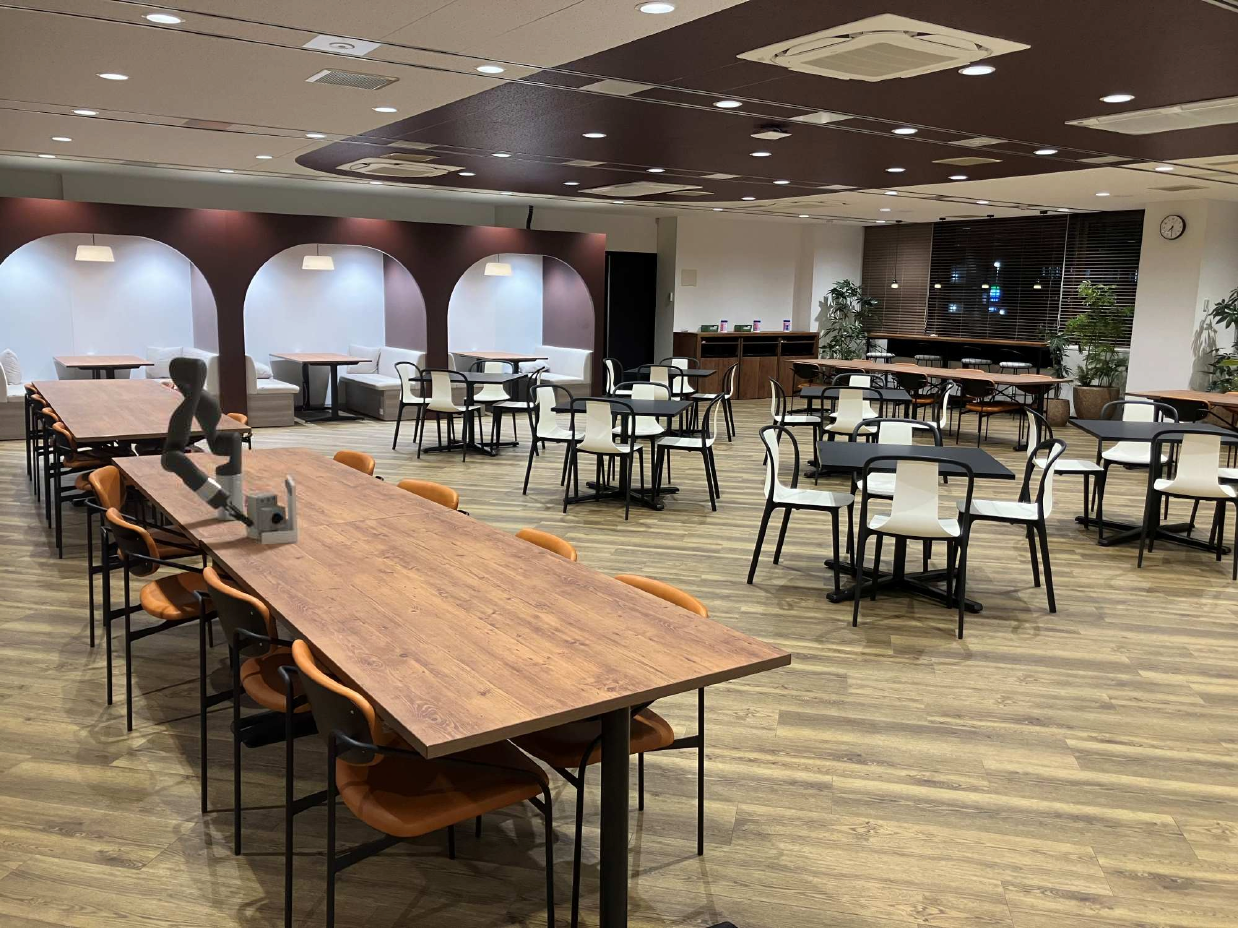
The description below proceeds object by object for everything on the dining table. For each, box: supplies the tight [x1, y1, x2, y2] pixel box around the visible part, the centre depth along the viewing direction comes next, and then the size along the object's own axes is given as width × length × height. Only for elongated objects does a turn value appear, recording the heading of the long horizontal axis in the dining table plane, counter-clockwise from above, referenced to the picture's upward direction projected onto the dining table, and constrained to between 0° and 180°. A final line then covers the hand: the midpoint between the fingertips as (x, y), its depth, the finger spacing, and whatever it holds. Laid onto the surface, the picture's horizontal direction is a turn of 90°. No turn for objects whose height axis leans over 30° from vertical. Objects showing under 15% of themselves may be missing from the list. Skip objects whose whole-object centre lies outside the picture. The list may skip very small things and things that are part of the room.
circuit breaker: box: [244, 491, 287, 541], centre depth 346 cm, size 8×14×15 cm, turn 55°
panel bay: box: [261, 475, 299, 545], centre depth 347 cm, size 20×12×20 cm, turn 24°
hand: (251, 525), depth 345 cm, fingers closed
